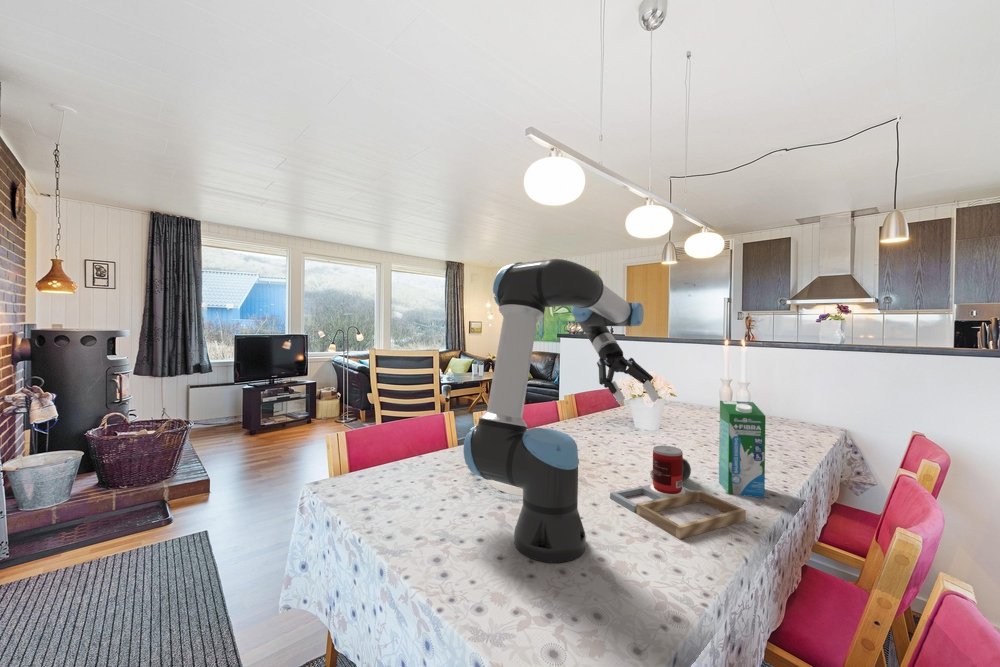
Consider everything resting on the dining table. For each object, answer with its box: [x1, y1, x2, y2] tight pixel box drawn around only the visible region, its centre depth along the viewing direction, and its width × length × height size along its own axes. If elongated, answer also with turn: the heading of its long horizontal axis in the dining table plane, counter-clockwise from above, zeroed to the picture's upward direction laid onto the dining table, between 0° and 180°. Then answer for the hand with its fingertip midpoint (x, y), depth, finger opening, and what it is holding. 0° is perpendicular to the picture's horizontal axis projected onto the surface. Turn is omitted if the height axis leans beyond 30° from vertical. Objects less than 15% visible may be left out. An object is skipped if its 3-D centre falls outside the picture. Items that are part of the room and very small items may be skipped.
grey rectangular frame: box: [609, 483, 694, 513], centre depth 108 cm, size 22×9×2 cm, turn 114°
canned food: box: [652, 445, 684, 494], centre depth 110 cm, size 8×8×11 cm
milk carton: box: [718, 400, 767, 498], centre depth 114 cm, size 9×9×25 cm
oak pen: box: [636, 489, 747, 540], centre depth 97 cm, size 22×13×2 cm, turn 114°
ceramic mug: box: [649, 458, 692, 484], centre depth 122 cm, size 11×8×8 cm
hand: (639, 400), depth 120 cm, fingers open, 13 cm apart
